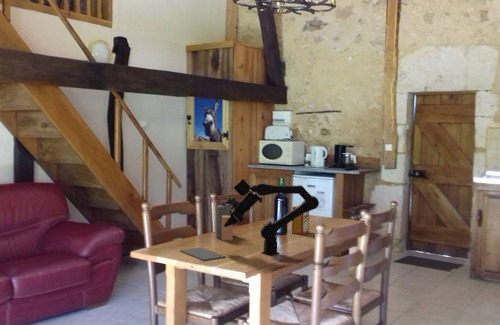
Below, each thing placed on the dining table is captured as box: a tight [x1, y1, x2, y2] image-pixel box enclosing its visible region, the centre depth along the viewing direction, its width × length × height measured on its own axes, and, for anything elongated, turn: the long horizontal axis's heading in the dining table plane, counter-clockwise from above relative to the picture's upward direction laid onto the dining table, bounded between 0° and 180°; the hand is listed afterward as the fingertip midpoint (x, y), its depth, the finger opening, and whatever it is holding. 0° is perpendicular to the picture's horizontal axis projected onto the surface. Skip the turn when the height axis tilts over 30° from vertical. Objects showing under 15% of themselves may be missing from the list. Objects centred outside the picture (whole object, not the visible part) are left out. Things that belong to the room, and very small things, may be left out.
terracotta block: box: [221, 216, 234, 241], centre depth 259 cm, size 5×5×11 cm
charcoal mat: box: [179, 246, 226, 262], centre depth 256 cm, size 22×12×1 cm, turn 36°
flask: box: [215, 200, 232, 240], centre depth 298 cm, size 15×6×20 cm, turn 160°
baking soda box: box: [291, 204, 310, 236], centre depth 312 cm, size 10×6×16 cm
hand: (224, 225), depth 259 cm, fingers closed on terracotta block, 5 cm apart
